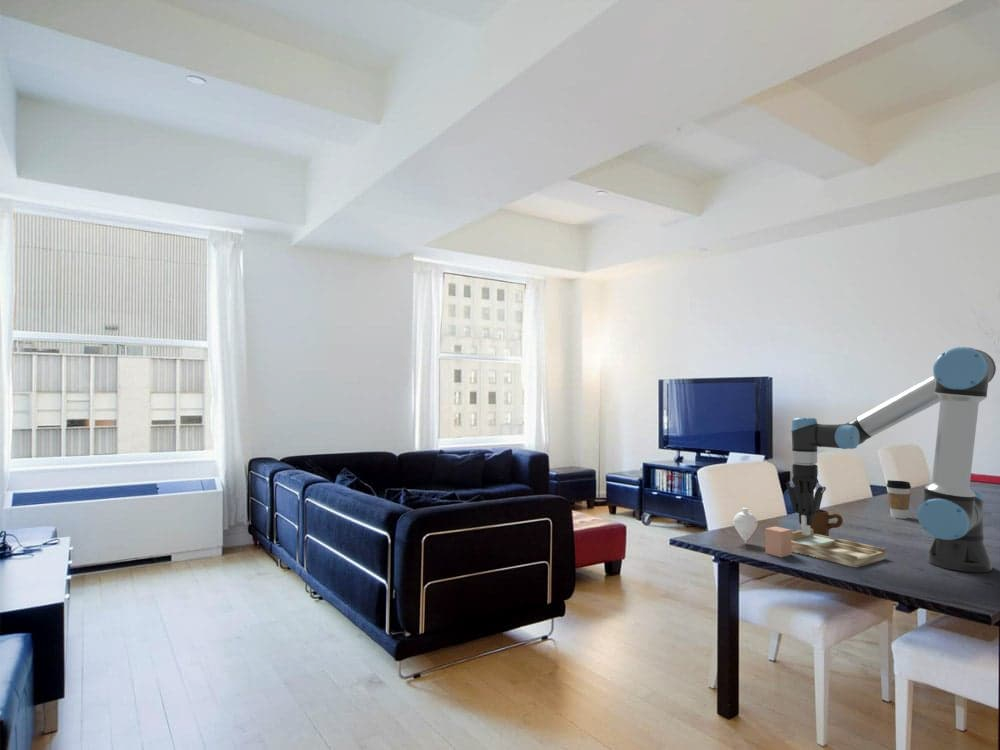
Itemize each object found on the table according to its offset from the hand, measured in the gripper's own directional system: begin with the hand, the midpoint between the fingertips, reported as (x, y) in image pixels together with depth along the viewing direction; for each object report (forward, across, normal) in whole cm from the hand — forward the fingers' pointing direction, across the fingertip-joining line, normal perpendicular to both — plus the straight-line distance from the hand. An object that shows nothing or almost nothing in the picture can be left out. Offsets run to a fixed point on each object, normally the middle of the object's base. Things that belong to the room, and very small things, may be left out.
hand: (806, 534), depth 197 cm
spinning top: (+5, +14, +12) cm, 19 cm away
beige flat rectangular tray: (+4, -5, 0) cm, 7 cm away
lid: (+2, +1, 0) cm, 3 cm away
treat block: (+5, 0, +14) cm, 15 cm away
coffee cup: (+5, +8, -78) cm, 78 cm away
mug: (+5, +4, -18) cm, 19 cm away
